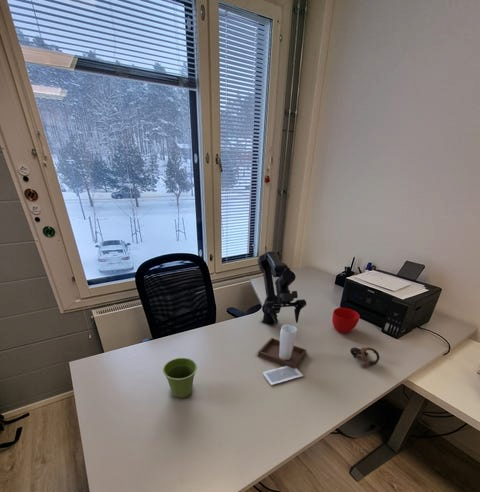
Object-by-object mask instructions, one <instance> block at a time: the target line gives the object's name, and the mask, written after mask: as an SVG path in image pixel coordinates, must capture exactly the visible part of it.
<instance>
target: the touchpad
mask: <svg viewBox="0 0 480 492" xmlns="http://www.w3.org/2000/svg"><path fill="white" fill-rule="evenodd" d="M261 374H262V375H263V376H264V378H265V379H266V380H267V382H268V384H270V386H273V385H277V384H279V383H283V382H287V381H290V380H293V379H297V378H300V377H304V374H303V373H302V372H301V371H300V370H299V369H298V367H297V368H295V369H293V368H291V367H288V366H281V367H276V368H273V369H269V370H265V371H262V372H261Z"/></svg>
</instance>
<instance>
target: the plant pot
mask: <svg viewBox="0 0 480 492" xmlns="http://www.w3.org/2000/svg"><path fill="white" fill-rule="evenodd" d="M197 370H198V365H197V363H196V361H194V360H193V359H191V358H188V357H176V358H173V359H171V360H169V361H167V362H166V363H164V365H163V367H162V373H163V375H164V376H165V378H166V379H167V382H168V385H169V388H170V391H171V395H173V396H174V397H175V398H180V399H183V398H184V399H185V398H186V397H188V396H189V395H191V393H192V391H193V383H194V378H195V375H196V372H197Z"/></svg>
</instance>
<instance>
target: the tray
mask: <svg viewBox="0 0 480 492" xmlns="http://www.w3.org/2000/svg"><path fill="white" fill-rule="evenodd" d="M279 350H280V339H277V338H274V337H271V338H270V339H269V340H268V341H267V342H266V343H265V344H264V345H263V346H262V347H261V348H260V350H258V353H257V357H260V358H262V359H265V360H267V361H270V362H273V363H275V364H277V365H280V366H281V367H284V366H288V367H291V368H293V369H295V368H297V369H298V366H299V365H300V364H301V362H302V361H303V360H304V357H305V356H306V354H307V349H305V348H302V347H299V346H297V345H294V347H293V350H292V354H291V358H290V359H289V360H282V359H281V358H280V357H279Z"/></svg>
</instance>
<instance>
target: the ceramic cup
mask: <svg viewBox="0 0 480 492" xmlns="http://www.w3.org/2000/svg"><path fill="white" fill-rule="evenodd" d="M360 317H361V316H360V314H359V312H357V311H356V310H353V309H351V308H347V307H339V306H338V307H337V308H335V309H333V312H332V319H331V320H332V325H333V328H334V329H335V330H336V332H338V333H340V334H348V333H351V331H353V330H354V329H355V328H356V327H357V325H358V322H359V320H360Z"/></svg>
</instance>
